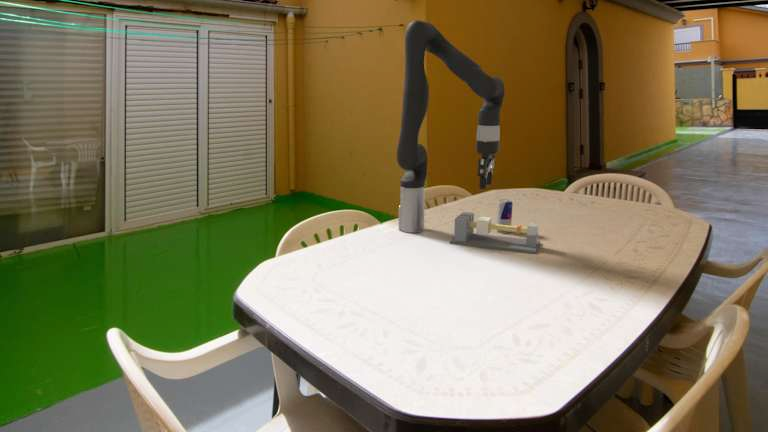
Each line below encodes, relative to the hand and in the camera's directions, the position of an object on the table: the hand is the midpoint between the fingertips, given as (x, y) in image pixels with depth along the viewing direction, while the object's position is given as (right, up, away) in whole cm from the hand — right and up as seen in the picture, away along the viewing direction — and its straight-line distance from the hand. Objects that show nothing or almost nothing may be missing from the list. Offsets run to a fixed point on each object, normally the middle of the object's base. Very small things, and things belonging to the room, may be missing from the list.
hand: (485, 186), depth 157 cm
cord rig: (+4, -19, +3) cm, 19 cm away
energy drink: (+11, -16, +17) cm, 26 cm away
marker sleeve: (0, -16, +4) cm, 16 cm away
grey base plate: (+4, -20, +3) cm, 20 cm away
